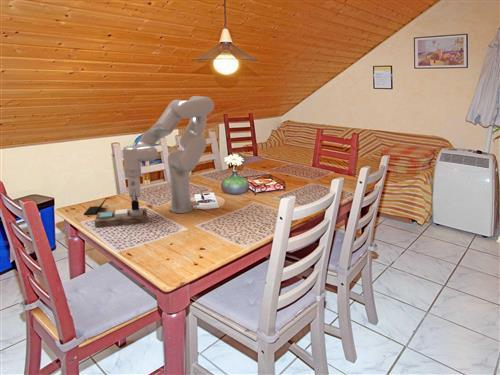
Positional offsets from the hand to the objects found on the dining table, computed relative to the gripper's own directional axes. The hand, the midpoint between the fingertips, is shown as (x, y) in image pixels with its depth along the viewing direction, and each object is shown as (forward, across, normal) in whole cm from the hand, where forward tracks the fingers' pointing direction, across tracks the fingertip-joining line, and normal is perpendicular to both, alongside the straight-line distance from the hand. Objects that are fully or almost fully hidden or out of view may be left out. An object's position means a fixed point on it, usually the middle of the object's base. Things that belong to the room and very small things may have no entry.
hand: (135, 209), depth 183 cm
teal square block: (+4, 0, +14) cm, 14 cm away
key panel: (+5, 0, +6) cm, 8 cm away
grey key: (+3, 0, 0) cm, 3 cm away
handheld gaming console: (+6, +17, +20) cm, 27 cm away
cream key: (+3, 0, +7) cm, 7 cm away
